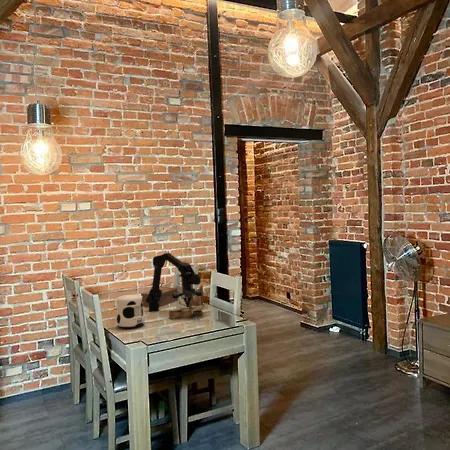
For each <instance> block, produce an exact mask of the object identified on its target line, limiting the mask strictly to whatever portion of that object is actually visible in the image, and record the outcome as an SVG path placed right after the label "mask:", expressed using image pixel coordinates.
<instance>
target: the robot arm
mask: <svg viewBox="0 0 450 450" xmlns="http://www.w3.org/2000/svg"><path fill="white" fill-rule="evenodd" d="M166 261H167V262H168V263H170V264H172V265H173V266H174V267H176V268H177V270H178V272H179V273H180V274H179V277H180V278H181V287H182V289H181V290H182V291H181V293H179V291H178V292H175V293H172V297H173V298H178V299H179V298H180V299H182V300H183V301H184V303H185V306H186V307H189V303H190V300H191V298H193V299H194V296H193V295H196V296H202V292H201V291H200V290H198V289H196V288H194V287H193V289H191V284H193V285H195V286H196V285H197V286H199V285H200V284H201V277H200V276H199V274H198V273H196V272H195V270H193V267H192V265H191V264H190V263H187V262H184V261H181V260H180V259H178V258H177V257H175V256H174V255H173V254H172V253H170V252H166V253H162V254H160V255H154V256H153V257H152V265H153V268H154V270H153V275H152V277H153V278H152V287H151V288H150V290H148V291H149V295H148V297H147V299H146V303H148V304H149V307H148V312H151V313H152V312H159V310H160V307H159V304H158V301H160V298H161V296H162V295H161V294H162V291H160V288H161V287H160V284H161V283H160V282H161V277H162V271H163V268H164V266H165V264H166Z"/></svg>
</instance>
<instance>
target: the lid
mask: <svg viewBox="0 0 450 450" xmlns="http://www.w3.org/2000/svg"><path fill="white" fill-rule="evenodd" d="M204 308H206V305H201V306H192V305H191V304H189V306H188V307H187V306H186V307H180V309H179V310H181V311H182V312H183V311H192V312H193V311H194V310H204Z"/></svg>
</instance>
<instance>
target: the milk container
mask: <svg viewBox="0 0 450 450" xmlns="http://www.w3.org/2000/svg"><path fill="white" fill-rule="evenodd" d="M116 307H117V308H116V310H117V311H116V317H115V319H116V320H115V321H116V324H117V326H118V327H119V328H122V329H133V328H138V327H141V326H142V325H144V324H145V321H146V314H145V312H144V307H143V298H142V296H141V294H125V295H121V296H118V297H117V298H116Z"/></svg>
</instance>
